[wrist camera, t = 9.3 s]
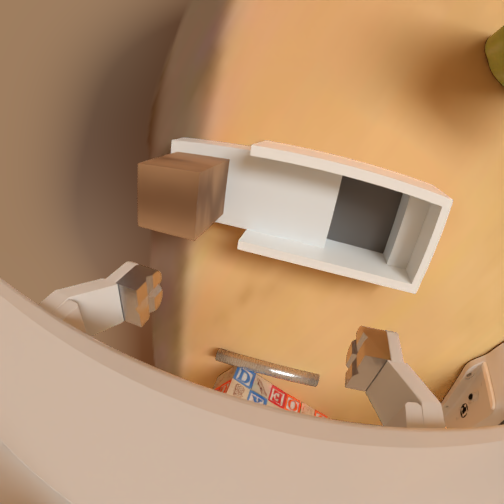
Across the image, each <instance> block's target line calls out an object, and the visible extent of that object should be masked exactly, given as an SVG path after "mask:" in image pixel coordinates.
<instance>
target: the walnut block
mask: <svg viewBox="0 0 504 504" xmlns="http://www.w3.org/2000/svg"><path fill="white" fill-rule="evenodd" d="M229 161H230V159H225V158H218V157H212V156H205V155H199V154H191V153H184V152H175V153H171V154H167V155H164V156H161V157H157V158H154V159H151V160H147V161H144V162H141V163H138V226H139V227H143V228H147V229H151V230H155V231H158V232H162V233H166V234H170V235H174V236H178V237H181V238H185V239H189V240H193V241H195V240H196V239H197V238H198V237H199V236H200V235H201V234H202V233H203V232H204V231H205V230H207V229H208V228H209V227H210V226H211V225H212V224H213V223H214V222H215V221H216V220H217V219H218V218H219V217H220V216H221V215H223V211H224V202H225V194H226V185H227V177H228V169H229Z"/></svg>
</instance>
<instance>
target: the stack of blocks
mask: <svg viewBox="0 0 504 504" xmlns="http://www.w3.org/2000/svg"><path fill="white" fill-rule="evenodd" d="M213 389H214V390H217V391H220V392H223V393H226V394H229V395H232V396H236V397H239V398H242V399H246V400H249V401H253V402H257V403H260V404H264V405H268V406H272V407H276V408H280V409H284V410H288V411H293V412H297V413H302V414H307V415H312V416H317V417H323V418H328V417H327V416H325V415H323V414H322V413H320V412H318V411H317V410H315V409H313V408H312V407H310V406H308V405H306V404H305V403H303V402H300V401H299V400H297V399H295V398H294V397H292V396H290V395H289V394H286V393H285V392H283V391H282V390H280V389H279V388H277V387H275V386H274V385H272V384H271V383H270V382H268V381H266V380H265V379H263V378H262V377H260V376H259V375H257V374H256V373H254V372H253V371H249V370H246V369H242V368H239V367H236V366H234V367H232V368H231V369H229V370H228V371H226V372H224V373H223V374H222V375H220V376H219V377H218V378H217V380H216V382H215V385H214V387H213ZM328 419H330V418H328Z"/></svg>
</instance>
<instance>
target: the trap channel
mask: <svg viewBox="0 0 504 504" xmlns="http://www.w3.org/2000/svg"><path fill="white" fill-rule="evenodd" d="M175 152H184V153H191V154H199V155H205V156H212V157H218V158H225V159H230V161H229V169H228V177H227V185H226V194H225V202H224V211H223V215H221V216H220V217H219V218H218V219H217V220H216V221H215V222H218V223H222V224H226V225H230V226H235V227H239V228H243V229H247V230H246V231H245V232H244V234H243V235H242V236H241V238H240V239H239V240H238V247H237V249H239V250H243V251H247V252H250V253H254V254H258V255H262V256H266V257H270V258H274V259H278V260H282V261H286V262H290V263H294V264H298V265H302V266H306V267H310V268H314V269H318V270H322V271H326V272H330V273H334V274H338V275H342V276H346V277H350V278H354V279H358V280H362V281H366V282H370V283H374V284H378V285H382V286H386V287H390V288H394V289H398V290H402V291H406V292H410V293H414V294H416V292H417V290H418V288H419V286H420V284H421V282H422V279H423V277H424V275H425V273H426V271H427V268H428V266H429V264H430V261H431V259H432V257H433V254H434V252H435V250H436V247H437V245H438V242H439V240H440V237H441V234H442V232H443V229H444V226H445V224H446V221H447V218H448V215H449V212H450V209H451V206H452V203H453V199H451V198H450V197H449V196H447V195H446V194H445V193H443V192H442V191H441V190H439V189H438V188H436V187H435V186H434V185H432V184H429V183H426V182H423V181H421V180H418V179H415V178H412V177H409V176H406V175H403V174H400V173H397V172H394V171H391V170H388V169H384V168H381V167H378V166H374V165H371V164H367V163H364V162H360V161H357V160H353V159H349V158H346V157H342V156H338V155H334V154H330V153H325V152H321V151H317V150H312V149H308V148H303V147H299V146H294V145H289V144H284V143H278V142H273V141H267V140H265V141H262V142H259V143H256V144H253V145H251V146H245V145H239V144H232V143H225V142H218V141H211V140H202V139H194V138H179V139H174V140H172V145H171V153H175Z"/></svg>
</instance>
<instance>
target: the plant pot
mask: <svg viewBox="0 0 504 504" xmlns="http://www.w3.org/2000/svg"><path fill="white" fill-rule="evenodd" d="M485 53H486V56H487V59H488V63H489V67H490V69H491V71H492V73H493V75H494V76H495V78H496V79H497V80H498V81H499V82H500V83H501V84H502V85H503V86H504V26H503V27H501V28H500V29H499V30H498V31H497V32H495V33H494V34H493V35H492V36H491V37H489V38H488V40H487V41H486V45H485Z"/></svg>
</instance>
